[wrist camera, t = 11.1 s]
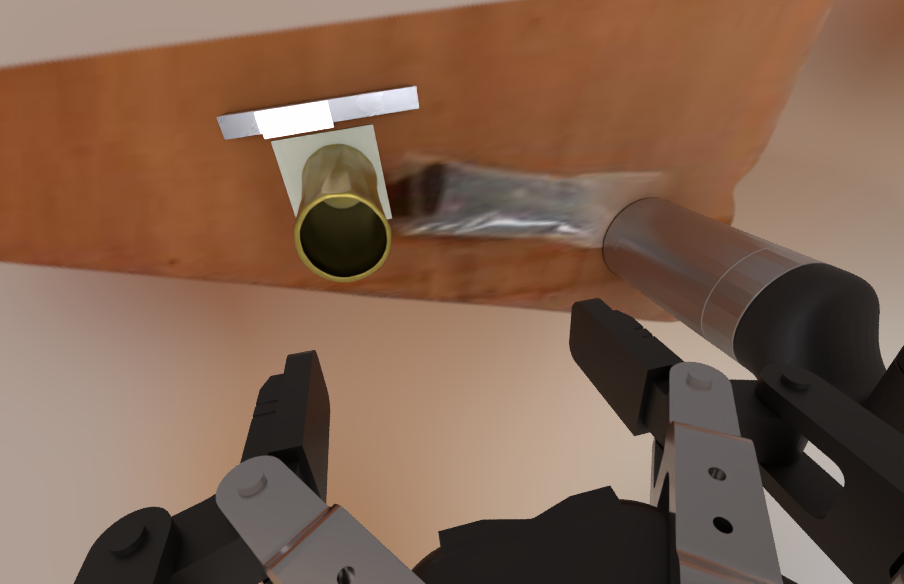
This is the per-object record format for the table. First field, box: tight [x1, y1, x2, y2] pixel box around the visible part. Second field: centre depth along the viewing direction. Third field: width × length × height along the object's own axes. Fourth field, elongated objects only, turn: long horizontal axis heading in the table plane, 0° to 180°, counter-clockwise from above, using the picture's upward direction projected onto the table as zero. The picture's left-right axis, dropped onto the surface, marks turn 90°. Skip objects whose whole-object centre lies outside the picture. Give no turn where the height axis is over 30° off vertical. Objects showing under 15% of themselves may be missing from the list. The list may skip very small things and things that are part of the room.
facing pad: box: [271, 124, 392, 219], centre depth 35 cm, size 8×8×1 cm
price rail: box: [216, 85, 419, 140], centre depth 31 cm, size 14×2×3 cm, turn 98°
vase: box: [293, 144, 391, 282], centre depth 29 cm, size 6×6×14 cm
